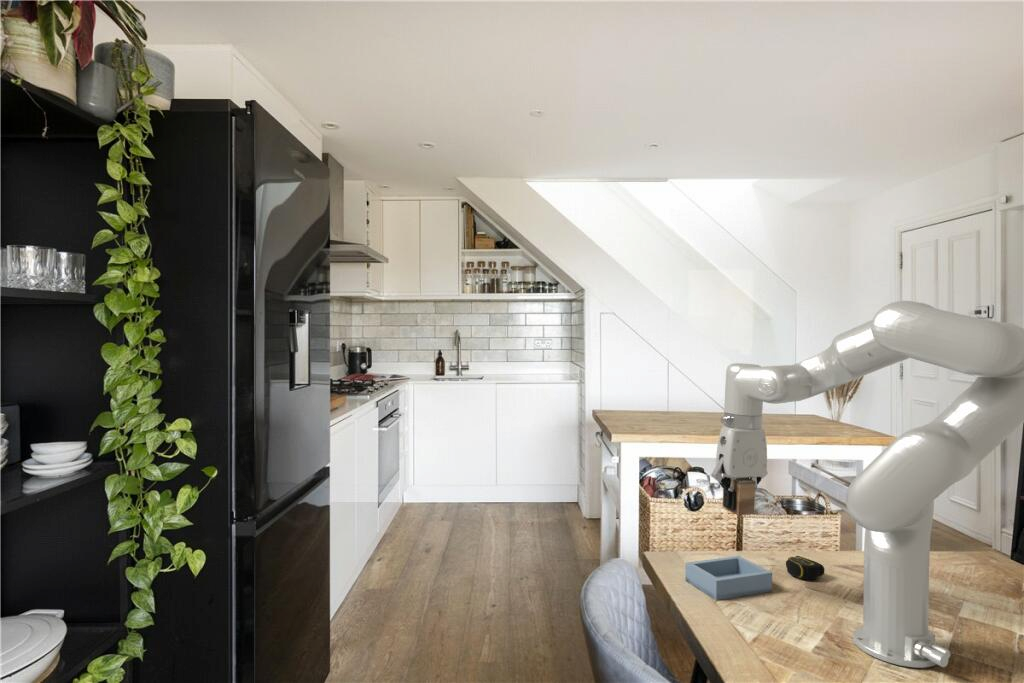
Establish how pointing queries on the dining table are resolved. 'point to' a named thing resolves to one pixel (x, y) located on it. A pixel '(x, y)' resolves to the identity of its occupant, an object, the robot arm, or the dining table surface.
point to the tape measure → (804, 568)
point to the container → (728, 577)
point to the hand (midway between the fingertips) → (738, 506)
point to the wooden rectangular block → (743, 496)
